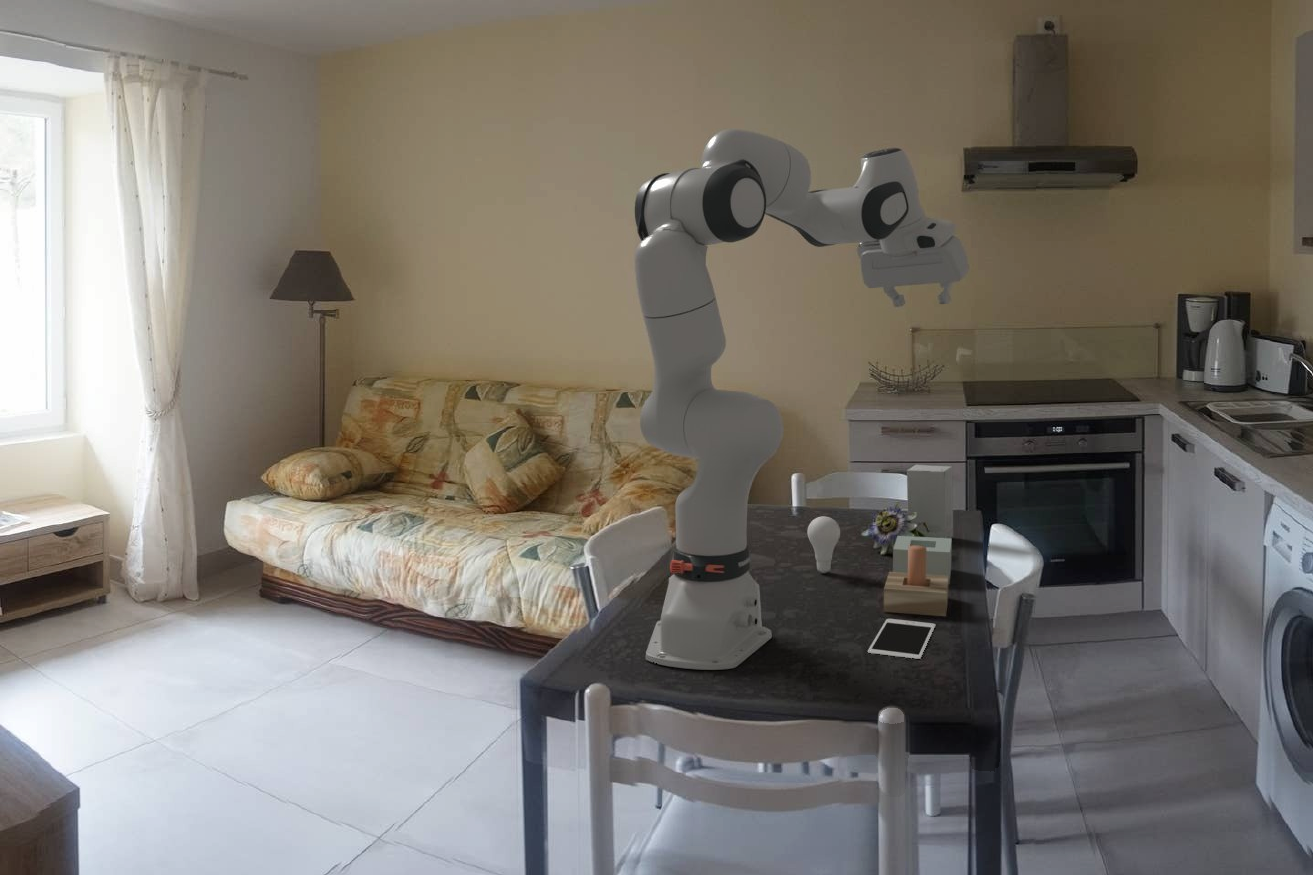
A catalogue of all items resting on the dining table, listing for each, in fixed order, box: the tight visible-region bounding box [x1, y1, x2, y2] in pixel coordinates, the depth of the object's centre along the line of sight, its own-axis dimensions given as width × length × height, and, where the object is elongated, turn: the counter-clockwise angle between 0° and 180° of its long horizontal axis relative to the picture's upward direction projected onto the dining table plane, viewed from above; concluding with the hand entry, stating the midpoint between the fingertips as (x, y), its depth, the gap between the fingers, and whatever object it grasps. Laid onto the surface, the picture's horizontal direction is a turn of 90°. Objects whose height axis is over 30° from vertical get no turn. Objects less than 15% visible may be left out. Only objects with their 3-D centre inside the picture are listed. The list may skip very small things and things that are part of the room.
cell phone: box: [867, 618, 937, 660], centre depth 153 cm, size 8×16×1 cm, turn 157°
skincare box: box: [906, 464, 954, 539], centre depth 210 cm, size 8×7×16 cm
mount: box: [883, 571, 949, 617], centre depth 168 cm, size 10×10×4 cm
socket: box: [892, 536, 952, 585], centre depth 185 cm, size 10×10×6 cm
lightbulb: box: [806, 515, 841, 574], centre depth 188 cm, size 6×6×11 cm
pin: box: [908, 545, 926, 586], centre depth 168 cm, size 3×3×10 cm
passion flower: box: [860, 501, 930, 556], centre depth 202 cm, size 11×11×12 cm
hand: (922, 304), depth 185 cm, fingers open, 8 cm apart
